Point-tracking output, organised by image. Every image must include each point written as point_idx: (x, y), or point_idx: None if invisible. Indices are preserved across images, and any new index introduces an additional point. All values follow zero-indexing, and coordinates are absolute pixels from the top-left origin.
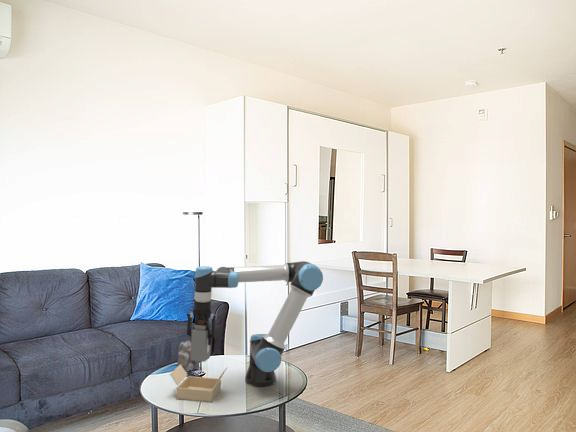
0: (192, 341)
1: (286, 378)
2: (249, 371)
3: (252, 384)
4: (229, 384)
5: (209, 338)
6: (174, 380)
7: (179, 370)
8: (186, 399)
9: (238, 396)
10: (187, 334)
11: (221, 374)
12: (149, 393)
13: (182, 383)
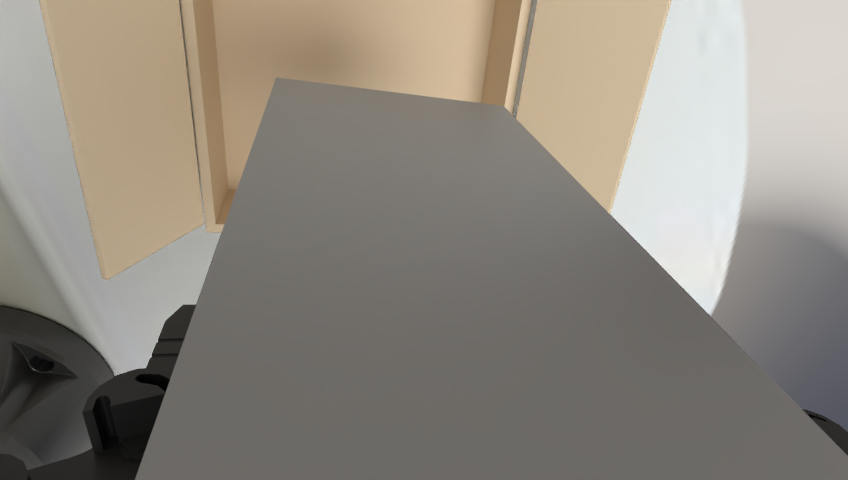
0: (606, 242)
1: None
2: (29, 406)
3: (12, 313)
4: (196, 293)
5: (117, 376)
6: None
7: (580, 182)
8: None
9: (19, 90)
10: (820, 423)
11: (51, 38)
12: (717, 31)
13: (508, 76)
